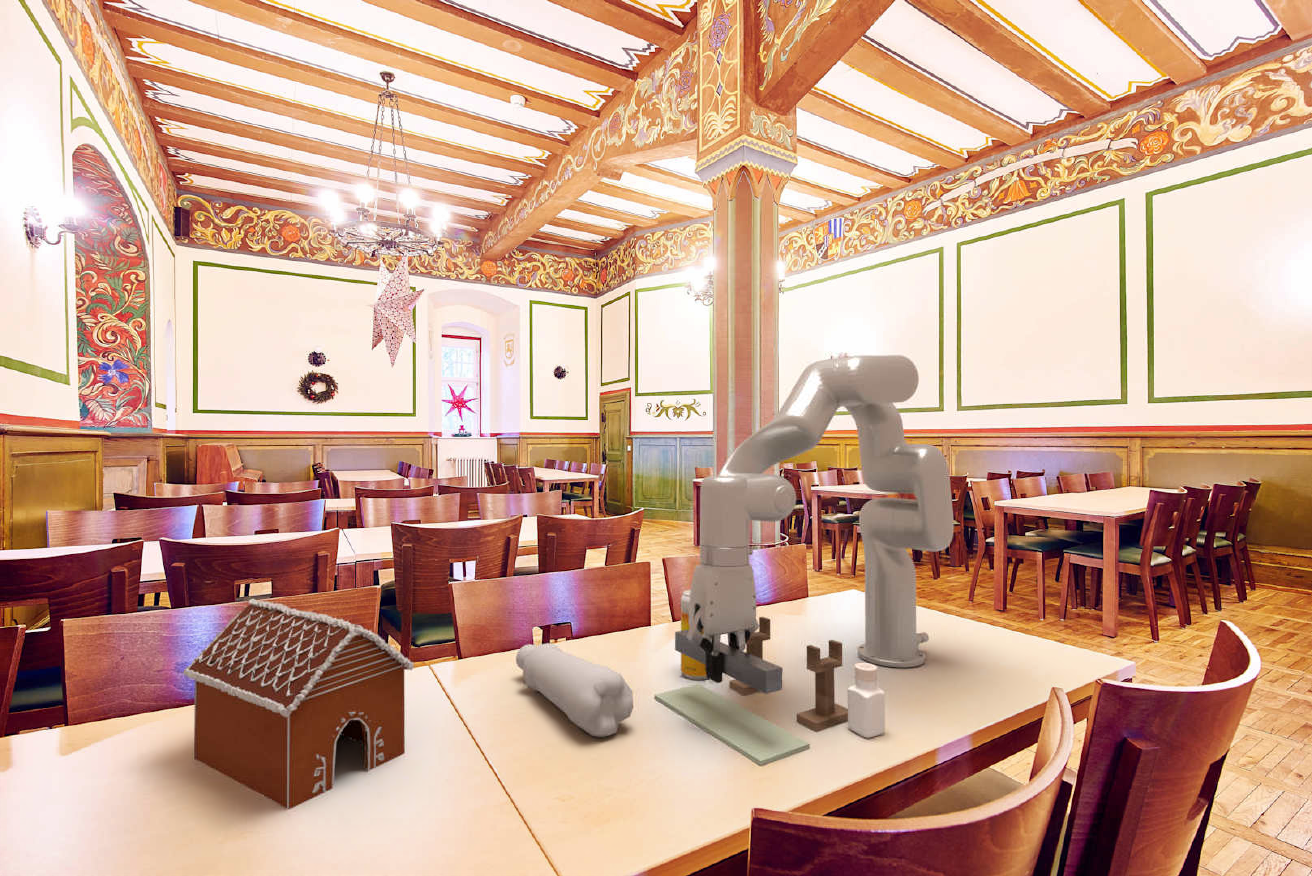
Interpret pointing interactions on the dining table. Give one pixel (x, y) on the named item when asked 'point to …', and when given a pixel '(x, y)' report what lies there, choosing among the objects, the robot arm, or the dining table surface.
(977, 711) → the dining table surface
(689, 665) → the beer can
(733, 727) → the board
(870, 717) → the salt shaker
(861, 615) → the dining table surface
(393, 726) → the gingerbread house
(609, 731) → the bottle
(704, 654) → the rail
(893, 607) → the robot arm
